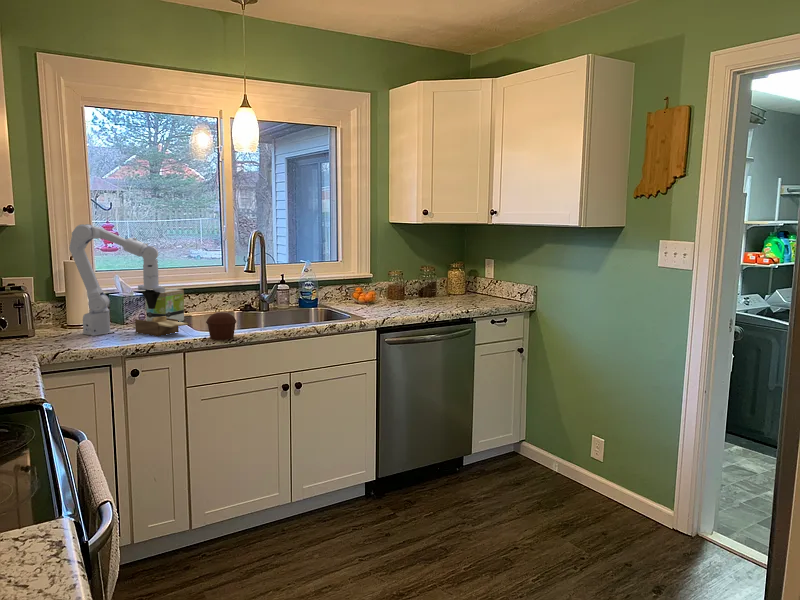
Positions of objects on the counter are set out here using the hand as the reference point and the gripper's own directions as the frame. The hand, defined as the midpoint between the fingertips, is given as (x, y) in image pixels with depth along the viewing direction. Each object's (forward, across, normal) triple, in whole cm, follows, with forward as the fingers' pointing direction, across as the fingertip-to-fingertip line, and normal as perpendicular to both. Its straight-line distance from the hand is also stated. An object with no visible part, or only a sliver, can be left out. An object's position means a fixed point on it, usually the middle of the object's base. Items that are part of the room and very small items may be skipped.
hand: (151, 308), depth 253 cm
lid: (+5, -11, 0) cm, 12 cm away
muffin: (+10, -33, -8) cm, 35 cm away
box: (+10, -4, 0) cm, 10 cm away
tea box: (+10, +15, -19) cm, 26 cm away
